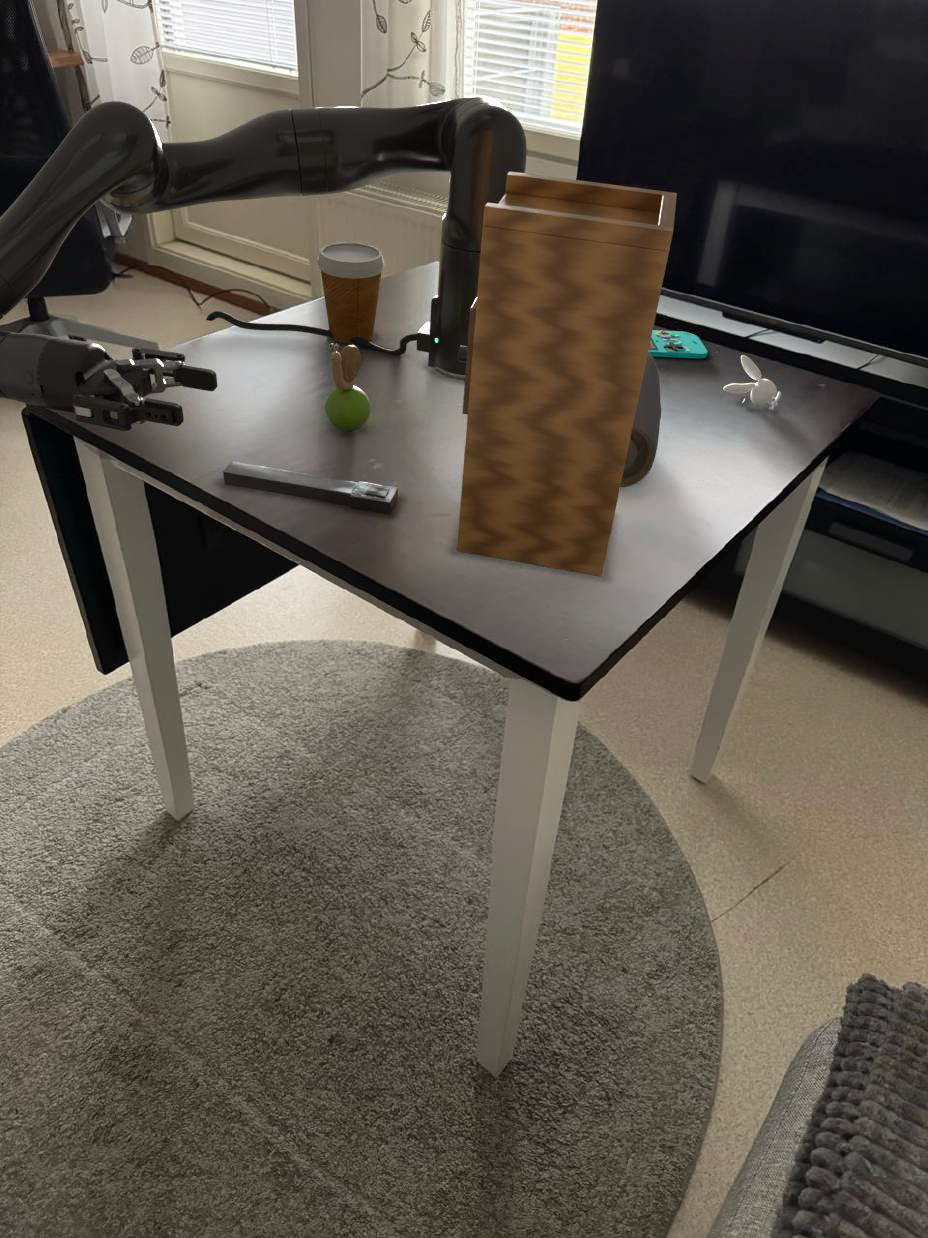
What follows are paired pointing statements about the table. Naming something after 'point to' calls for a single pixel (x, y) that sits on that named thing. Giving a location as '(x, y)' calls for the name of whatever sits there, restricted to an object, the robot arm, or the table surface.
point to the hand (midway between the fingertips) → (199, 397)
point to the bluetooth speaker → (644, 428)
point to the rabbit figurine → (755, 386)
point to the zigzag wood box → (557, 365)
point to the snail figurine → (346, 391)
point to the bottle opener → (313, 487)
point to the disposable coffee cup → (351, 288)
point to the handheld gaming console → (676, 345)
